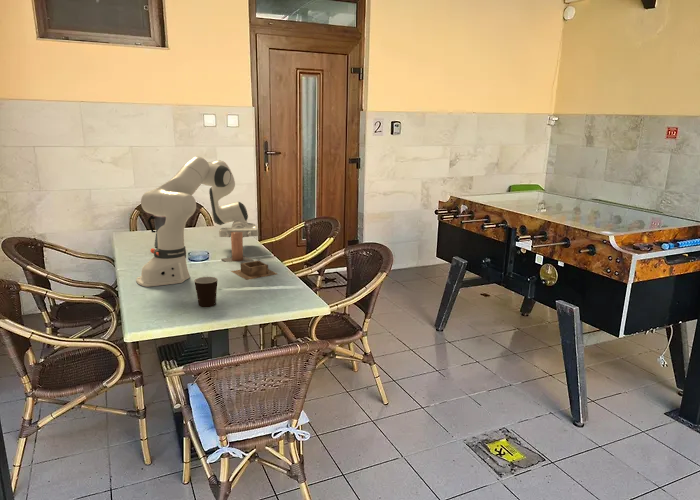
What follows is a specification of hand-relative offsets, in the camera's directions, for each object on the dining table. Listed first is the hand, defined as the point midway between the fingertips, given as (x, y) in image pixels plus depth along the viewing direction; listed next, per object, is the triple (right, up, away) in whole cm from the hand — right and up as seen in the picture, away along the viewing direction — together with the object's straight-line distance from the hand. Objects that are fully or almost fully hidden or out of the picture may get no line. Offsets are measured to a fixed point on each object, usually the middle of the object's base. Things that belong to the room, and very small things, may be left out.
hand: (238, 235), depth 271 cm
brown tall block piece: (+1, -13, -8) cm, 15 cm away
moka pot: (-46, -6, +20) cm, 50 cm away
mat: (+1, -13, -6) cm, 15 cm away
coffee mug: (+3, -28, -66) cm, 72 cm away
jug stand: (+14, -19, -29) cm, 37 cm away
